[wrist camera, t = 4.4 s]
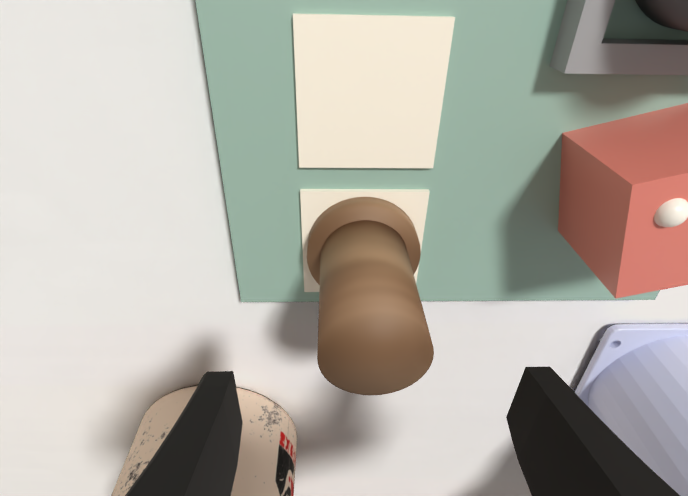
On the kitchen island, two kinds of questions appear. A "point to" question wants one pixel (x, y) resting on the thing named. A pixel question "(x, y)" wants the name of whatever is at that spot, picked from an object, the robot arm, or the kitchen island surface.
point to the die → (629, 200)
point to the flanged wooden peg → (368, 297)
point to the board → (424, 129)
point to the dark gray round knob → (666, 12)
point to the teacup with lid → (254, 454)
